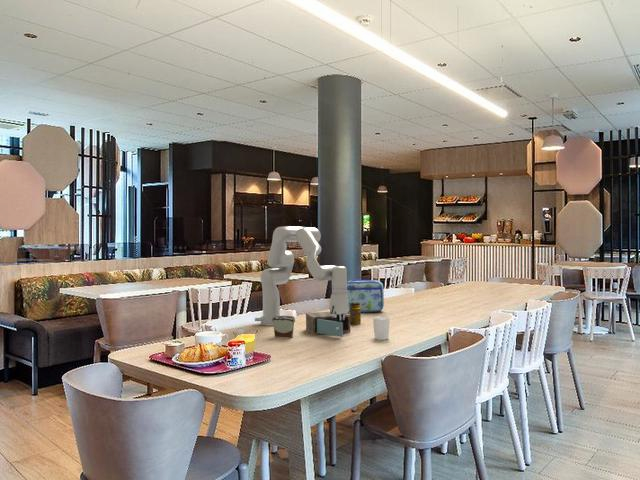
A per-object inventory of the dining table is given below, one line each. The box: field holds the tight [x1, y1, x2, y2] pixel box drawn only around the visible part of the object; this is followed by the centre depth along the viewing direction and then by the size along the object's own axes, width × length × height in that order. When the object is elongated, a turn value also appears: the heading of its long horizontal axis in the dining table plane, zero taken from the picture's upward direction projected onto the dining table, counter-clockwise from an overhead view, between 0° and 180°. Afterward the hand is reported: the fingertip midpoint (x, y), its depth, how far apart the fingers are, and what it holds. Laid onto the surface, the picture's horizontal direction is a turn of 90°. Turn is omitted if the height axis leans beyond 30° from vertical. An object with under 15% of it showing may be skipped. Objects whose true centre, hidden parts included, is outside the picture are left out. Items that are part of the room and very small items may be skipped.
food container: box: [272, 315, 296, 339], centre depth 262 cm, size 12×6×10 cm, turn 71°
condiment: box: [349, 302, 363, 327], centre depth 293 cm, size 7×8×12 cm
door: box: [317, 319, 344, 338], centre depth 259 cm, size 16×2×7 cm, turn 49°
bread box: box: [305, 311, 351, 336], centre depth 274 cm, size 20×14×9 cm
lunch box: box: [347, 278, 385, 313], centre depth 337 cm, size 26×11×21 cm, turn 77°
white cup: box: [372, 316, 390, 341], centre depth 254 cm, size 8×8×10 cm
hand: (340, 328), depth 259 cm, fingers closed
